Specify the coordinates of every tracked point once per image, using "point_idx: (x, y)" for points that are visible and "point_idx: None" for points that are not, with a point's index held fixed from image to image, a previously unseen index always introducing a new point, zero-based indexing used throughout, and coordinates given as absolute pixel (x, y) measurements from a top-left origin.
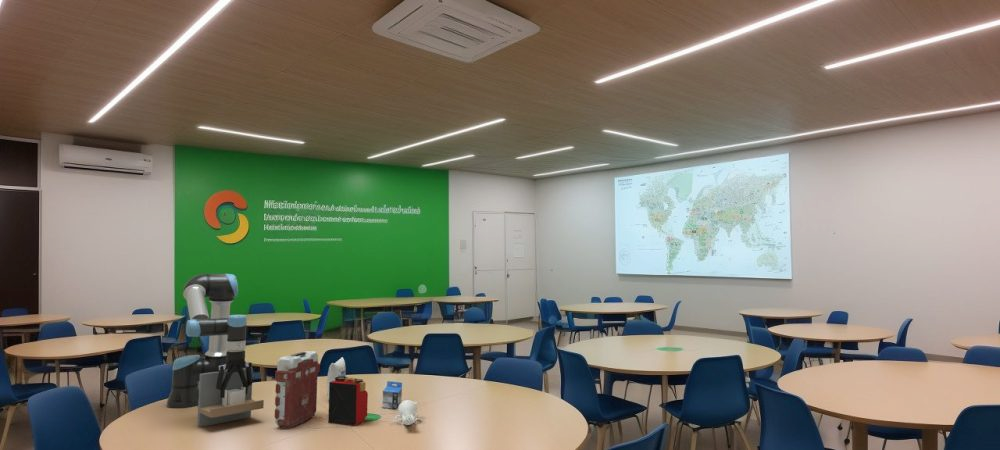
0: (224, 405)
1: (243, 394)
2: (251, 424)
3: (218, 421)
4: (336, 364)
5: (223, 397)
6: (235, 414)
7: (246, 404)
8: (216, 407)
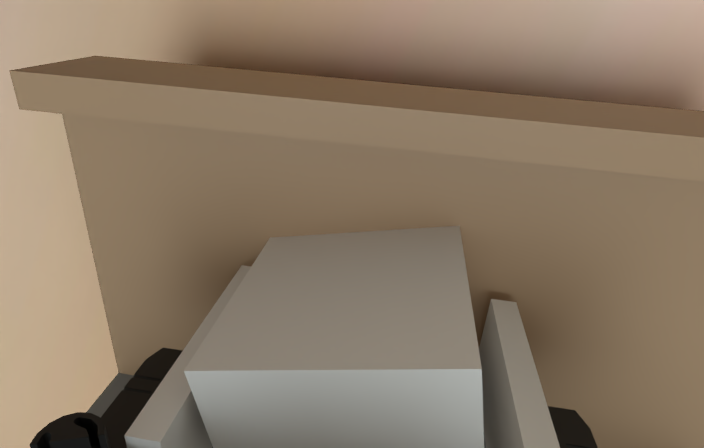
0: (515, 312)
1: (233, 321)
2: (289, 54)
3: None
4: None
5: (554, 412)
6: None
7: (296, 93)
8: (578, 355)
